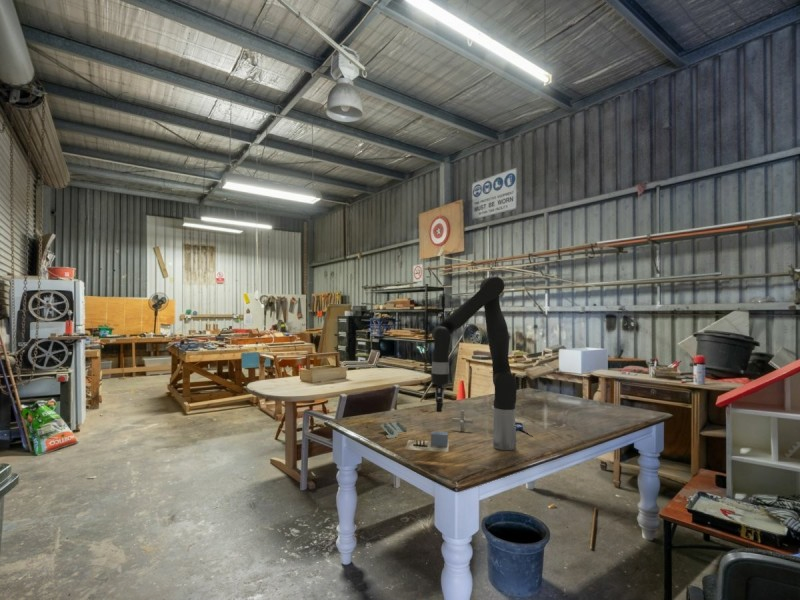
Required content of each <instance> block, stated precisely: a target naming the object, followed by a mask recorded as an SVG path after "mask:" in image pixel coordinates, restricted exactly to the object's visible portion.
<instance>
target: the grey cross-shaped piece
mask: <svg viewBox="0 0 800 600" xmlns="http://www.w3.org/2000/svg"><path fill="white" fill-rule="evenodd" d="M451 421H452V422H456V423H458V425H459V426H460V432H465V424H473V423H474V422H473V421H474V420H473V419H468V418H466V417H465V410H460V418H457V417H456V418H455V417H452V419H451Z"/></svg>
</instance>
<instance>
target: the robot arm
mask: <svg viewBox="0 0 800 600" xmlns="http://www.w3.org/2000/svg"><path fill="white" fill-rule="evenodd" d="M504 290H505V282H504V280H503V278H501V277H499V276H497V275H494V276H493V275H492V276H489V277H486V278H484V279H483V280H482V281H480V285H479V290H478V291H477V292H476V293H475V294H474V295H472V296H471V297H469V299H467V300H466V301H465V302H464V303H462V304H461V305H459V307H457V308H456V309H455V310H454V311H453V312H452V313H451V314H450V315H449V316H448V317H447V318H446V319H444V320H443V321H441V322H440V323H439V324H438V325H436V327H434V328H433V330H432V332H431V337H432V339H433V340H434V346H433V350H432V359H431V360H432V361H431V362H432V363H431V383H432V384H434V385H435V384H436V386H435V388H434V391H435V392H434V393H435V394H434V395H435V396H434V397H435V402H436V403H435V404H436V408H435V409H436V412H437V413H442V411H443V406H444V404H443V403H444V397H445V391H446V389H445V386H444V385H447V384H449V381H450V366H449V365H450V364H449V363H450V362H449V360H450V359H449V357H450V356H449V351H450V345H451V344H450V343H451V334H453V332H455V331H457V330H459V329H460V328H461V327H462V326H464V325H465V324H466V323H467V321H469V320H470V319H471V318H472V317H473V316H474V315H475V314H476V313H477V312H478V311H480V309H481V308H484V318H485V319H484V320H485V327H486V337H487V343H488V348H489V353H490V357H491V364H492V366H491V367H492V383H493V386H494V399H493V425H492V426H493V433H492V434H493V435H492V436H493V439H492V441H493V442H492V443H493V448H494V449H496V450H501V451H513V450H514V451H516V450H517V431H516V427H515V422H516V404H517V379H516V377H515V375H514V374H512V370H511V366H510V361H509V351H510V350H509V349H510V338H509V335H510V334H509V328H508V325H507V322H506V319H505V316H504V314H503V311H502V309H501V304H500V303H501V302H500V295H502V293H503V292H504Z"/></svg>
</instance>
